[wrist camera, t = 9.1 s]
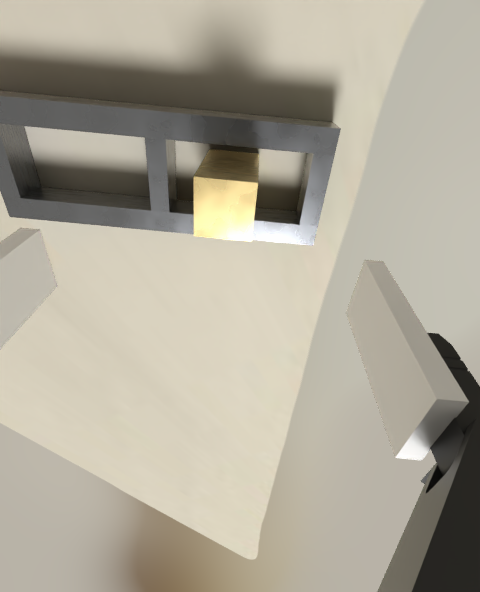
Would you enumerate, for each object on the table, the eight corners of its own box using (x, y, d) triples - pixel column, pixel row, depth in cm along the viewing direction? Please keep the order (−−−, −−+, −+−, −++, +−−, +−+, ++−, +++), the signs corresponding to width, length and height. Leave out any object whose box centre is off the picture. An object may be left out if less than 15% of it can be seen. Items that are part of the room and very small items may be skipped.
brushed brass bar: (210, 148, 26) (193, 176, 20) (258, 153, 26) (258, 182, 20) (208, 197, 29) (193, 236, 22) (253, 201, 29) (251, 241, 22)
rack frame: (-6, 89, 25) (-35, 92, 22) (332, 122, 25) (340, 128, 22) (30, 204, 30) (9, 216, 28) (308, 230, 30) (313, 245, 28)
